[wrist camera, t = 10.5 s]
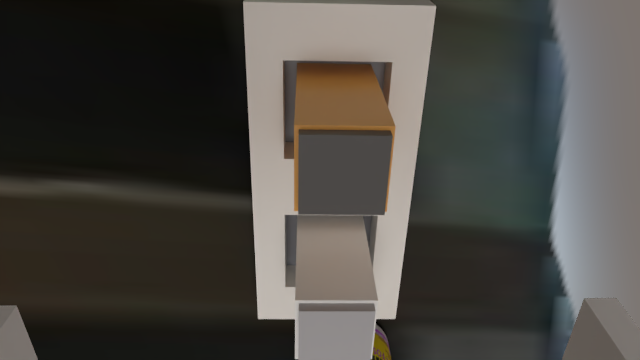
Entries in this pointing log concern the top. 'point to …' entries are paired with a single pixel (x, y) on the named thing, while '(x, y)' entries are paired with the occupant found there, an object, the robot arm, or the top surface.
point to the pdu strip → (279, 111)
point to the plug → (341, 141)
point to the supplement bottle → (380, 345)
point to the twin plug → (334, 289)
